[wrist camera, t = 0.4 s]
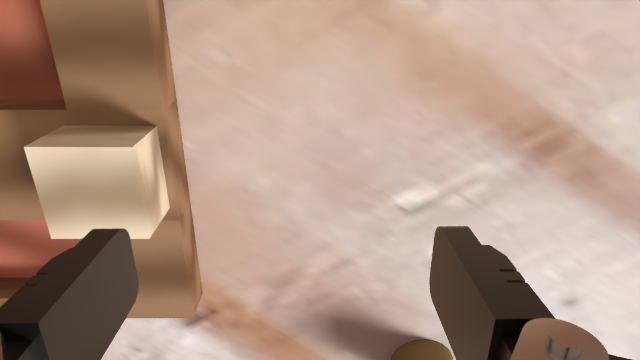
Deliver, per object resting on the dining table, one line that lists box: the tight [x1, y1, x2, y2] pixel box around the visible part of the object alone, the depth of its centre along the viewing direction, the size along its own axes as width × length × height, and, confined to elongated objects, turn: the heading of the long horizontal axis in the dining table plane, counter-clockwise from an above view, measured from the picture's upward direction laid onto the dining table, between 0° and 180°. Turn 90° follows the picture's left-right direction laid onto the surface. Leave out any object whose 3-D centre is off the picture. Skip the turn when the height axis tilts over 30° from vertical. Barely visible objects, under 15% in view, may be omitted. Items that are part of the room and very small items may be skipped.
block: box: [24, 126, 170, 239], centre depth 26 cm, size 6×6×4 cm
